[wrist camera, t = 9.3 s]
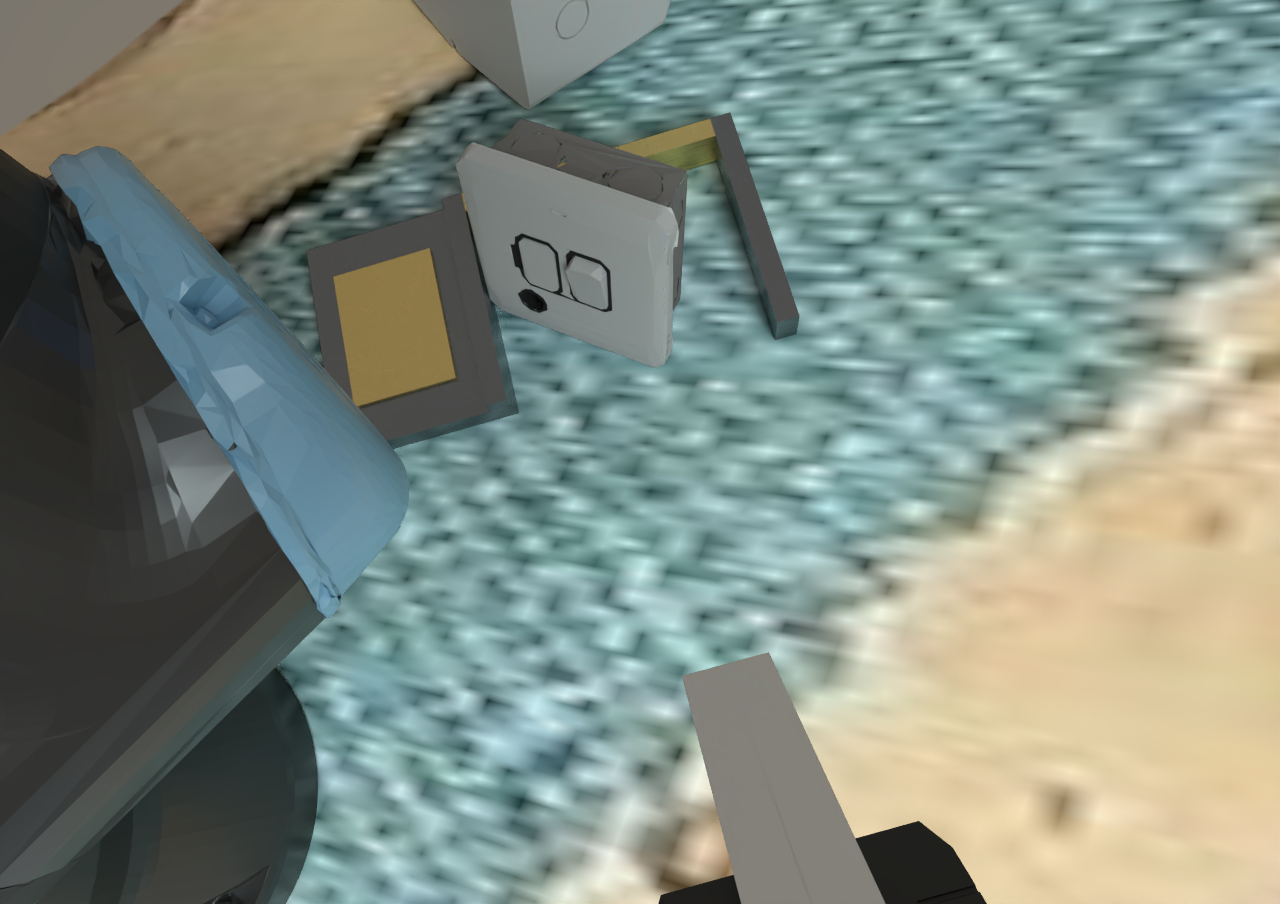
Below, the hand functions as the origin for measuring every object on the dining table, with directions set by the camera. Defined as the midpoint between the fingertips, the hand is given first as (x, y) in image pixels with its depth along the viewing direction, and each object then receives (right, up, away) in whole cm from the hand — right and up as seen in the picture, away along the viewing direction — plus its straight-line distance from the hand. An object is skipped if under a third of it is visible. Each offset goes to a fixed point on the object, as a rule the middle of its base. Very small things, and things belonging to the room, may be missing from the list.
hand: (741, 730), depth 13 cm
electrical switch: (-4, +13, +25) cm, 28 cm away
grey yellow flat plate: (-6, +12, +25) cm, 29 cm away
